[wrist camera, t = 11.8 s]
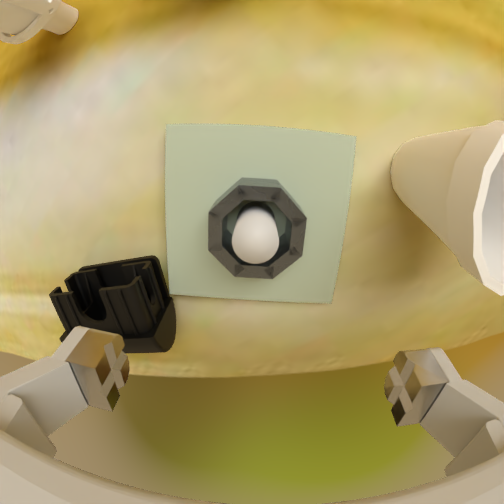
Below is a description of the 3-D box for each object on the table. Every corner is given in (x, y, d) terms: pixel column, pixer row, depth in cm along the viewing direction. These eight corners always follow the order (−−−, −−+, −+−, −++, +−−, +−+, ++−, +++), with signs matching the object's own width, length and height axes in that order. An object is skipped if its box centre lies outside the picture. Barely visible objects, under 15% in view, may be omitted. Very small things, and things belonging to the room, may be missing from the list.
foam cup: (355, 197, 23) (441, 260, 11) (397, 100, 20) (507, 85, 8) (434, 239, 24) (523, 311, 12) (472, 155, 21) (576, 184, 9)
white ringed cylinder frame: (109, -3, 16) (9, -68, 2) (68, 61, 18) (-58, 38, 5) (65, -13, 15) (-29, -58, 1) (29, 44, 17) (-80, 28, 3)
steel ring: (301, 181, 21) (310, 190, 18) (293, 259, 24) (299, 280, 20) (216, 176, 21) (209, 183, 18) (214, 254, 24) (207, 275, 20)
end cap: (100, 325, 29) (73, 365, 22) (76, 267, 26) (39, 300, 20) (183, 320, 28) (166, 367, 22) (162, 253, 25) (134, 290, 19)
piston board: (350, 136, 21) (382, 137, 15) (328, 295, 26) (345, 338, 20) (171, 124, 21) (141, 121, 15) (173, 285, 26) (152, 327, 20)
